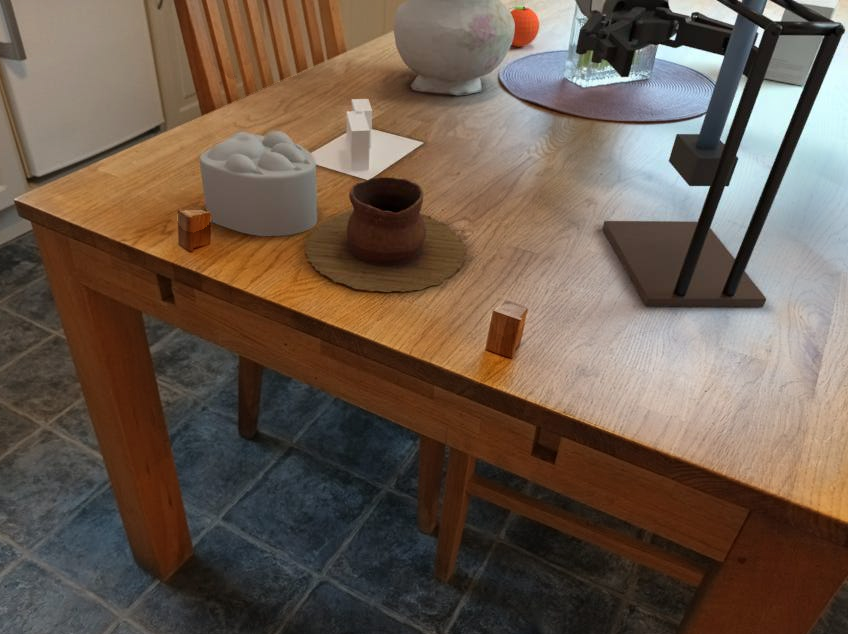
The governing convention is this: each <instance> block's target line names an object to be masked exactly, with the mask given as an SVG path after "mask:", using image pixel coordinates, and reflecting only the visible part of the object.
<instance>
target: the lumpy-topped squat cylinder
mask: <svg viewBox="0 0 848 634" xmlns="http://www.w3.org/2000/svg"><path fill="white" fill-rule="evenodd" d="M311 153H312V152H310V151H309V150H308V149H306V148H304V147H303V146H302V145H300V144H298V143H294V142H293V139H291V137H290V136H289V135H287V133H285V132H283V131H279V130H275V131H274V130H273V131H270V132H268V133H267V134H266V135H261V134H251V133H249V132H245V131H240V132H239V131H238V132H236V133H233V134H232V136H230V137H228V138H226V139H225V140H224V141H222V142H219V143H216V144H215V145H214V146H213V147H212V148H210V149H207V150H205V151H203V152H202V153H201V154H200V155H199V168H200V175H201V182H202V189H203V197H204V204H205V211H206V210H207V211H209V212H210V213H211V220H209V221H210V222H212V223H213V224H216V225H218V226H221V227H223V228H226V229H229V230H231V231H234V232H235V231H236V232H239V233H243V234H247V235H251V236H256V237H284V236H291V235H296V234H300V233H303V232H304V233H305V232H308V231H309V230H311V229H313V228H314V227H315V226H316V225H317V223H318V196H317V195H318V191H317V165H316V162H315V159H314V157H313V155H312V154H311Z"/></svg>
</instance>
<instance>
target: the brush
mask: <svg viewBox="0 0 848 634" xmlns="http://www.w3.org/2000/svg"><path fill="white" fill-rule="evenodd" d="M741 2H742V3H743V4H745V5H747V6H749V7H750V8H752V9H754V10H755V11H757V12H759V13H761V14H762V15H764V11H765V9H766V7H767V6H766V5H767V3H768V0H741ZM733 25H734V27H733V31H732V34H731V37H730V40H729V43H728V46H727V49H726V52H725V56H723V59H722V62H721V65H720V68H719V72H718V75H717V78H716V81H715V84H714V87H713V90H712V93H711V96H710V100H709V102H708V106H707V109H706V112H705V115H704V118H703V122H702V125H701V128H700V131H699V133H676V135H675V139H674V141H673V144H672V148H671V152H670V154H669V158H668V163H669V164H671V166H672V167H673V168H674V170H675V171H676V172H677V173H678V174H679V176H680V177H681V178H682V180H684V182H685V183H686V184H687V185H688V187H710V185H711V182H712V179H713V176H714V173H715V171H716V168H717V165H718V162H719V159H720V156H721V153H722V150H723V147H724V145H725V142H723V141H722V140H721V138H722V135H723V132H724V129H725V126H726V123H727V121H728V118H729V114H730V111H731V109H732V106H733V103H734V100H735V97H736V94H737V91H738V88H739V85H740V83H741V79H742V76H743V71H744V68H745V65H746V62H747V59H748V56H749V53H750V50H751V47H752V44H753V41H754V38H755V35H756V32H758V29H759V28H760V27H759V26H757V25H756V24H754V23H753V22H751V21H749V20H748V19H746V18H744V17H743V16H741V15H740V14H738V13H737V15H736V18H735V22H734V24H733ZM738 162H739V156H737V155H736V157H735V160H734V163H733V166H732V168H731V171H730V174H729V177H728V180H727V182H726V185H725V187H729V186H730V185H731V181H732V178H733V175H734V173H735V169H736V167H737V164H738Z"/></svg>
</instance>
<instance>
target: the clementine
mask: <svg viewBox="0 0 848 634" xmlns="http://www.w3.org/2000/svg"><path fill="white" fill-rule="evenodd" d="M510 9H513V10H511V11H510V13H511V15H512V17H513V19H514V23H515V31H514V37H513V41H512V44H511V46H514V47H517V48H522V47H526V46H528V45H529V44H532V42H533V41H535V39H536V37H537V36H538V34H539V32H540V31H539V30H540V20H539V17H538V15H537V14H536V12H535V11H533V9H532V8H528V7H526V6H513V7H510V8H509V10H510Z"/></svg>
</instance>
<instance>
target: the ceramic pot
mask: <svg viewBox="0 0 848 634" xmlns="http://www.w3.org/2000/svg"><path fill="white" fill-rule="evenodd" d="M424 196H425V195H424V190H423V188H422V186H421V185H420V184H419V183H417V182H413V181H411V179H407V178H404V177H403V178H396V177H390V176H382V177H381V176H379V177H373V178H370V179H369V180H365V181H362V182H356V184H354V185H352V186H351V188H350V190H349V193H348V198H349V201H350V203H351V205H352V209H353V210H352V211H351V212H349V213H346V214H341V215H339V216H334V217H333V218H331V219H329V220H328V221H326V222H323V223H322V224H320V225H318V227H317V228H316V229H315V230H314V231H312V232H311V235H309V236H308V238H307V239H306V241H307V242H306V243H305V245H304V248H305V249H304V254H305V255H306V257H307V262H308V263H310V264H311V266H312V267H314V269H315V271H318V272H319V274H321V275H323V276H326V277H327V278H329V279H331V280H332V282H334V283H335V284H336V283H338V284H344V285H345V286H347V287H350V288H352V289H355V290H362V291H369V292H375V291H376V292H383V293H390V292H391V293H392V292H401V293H405V292H413V291H422V290H424V289H425V288H429V287H432V286H439V285H441V284H443V283H444V281H445V279H448V278H450V277H452V276H453V275H455V274H456V272H457V271H460V269H461V268H462V265H464V264H465V261H466V260H467V256H466V253H467V249H466V248H465V247H466V244H465V243H464V242H463V241H462V240H461V236H460V235H458V234H457V233H456V232H455V231H454V229H449V225H448V224H447V223H446V222H444V221H441V220H438V219H436V218H435V217H432V216H430V215H426V214H423V213H421V211H422V206H423V202H424Z"/></svg>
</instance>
